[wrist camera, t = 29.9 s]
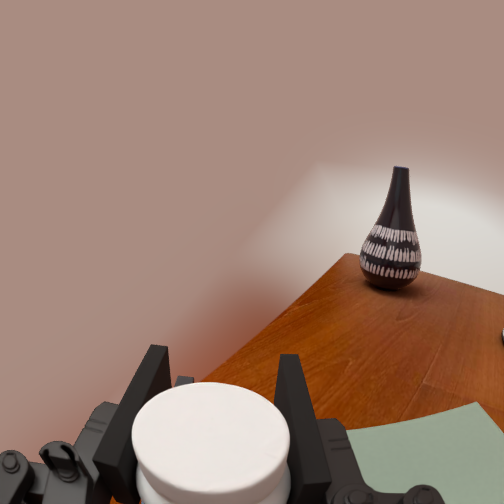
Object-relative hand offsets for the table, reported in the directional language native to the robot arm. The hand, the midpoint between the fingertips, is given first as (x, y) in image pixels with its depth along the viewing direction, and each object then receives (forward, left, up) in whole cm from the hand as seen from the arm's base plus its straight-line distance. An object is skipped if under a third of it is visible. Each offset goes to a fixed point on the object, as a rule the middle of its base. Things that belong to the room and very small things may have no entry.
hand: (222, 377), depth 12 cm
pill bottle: (0, -5, -6) cm, 8 cm away
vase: (+36, +53, -14) cm, 65 cm away
